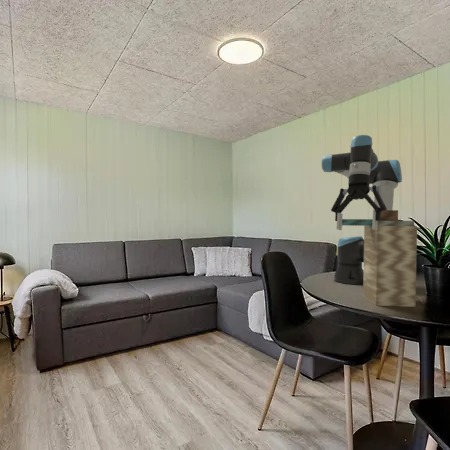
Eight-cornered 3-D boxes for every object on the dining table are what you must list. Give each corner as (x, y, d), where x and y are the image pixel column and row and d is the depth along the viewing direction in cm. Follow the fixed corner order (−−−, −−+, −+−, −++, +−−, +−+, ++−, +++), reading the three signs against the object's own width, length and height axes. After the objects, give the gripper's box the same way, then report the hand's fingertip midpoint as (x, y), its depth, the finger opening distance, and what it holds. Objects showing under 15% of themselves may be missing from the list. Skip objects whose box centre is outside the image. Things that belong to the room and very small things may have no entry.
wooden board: (376, 305, 114) (377, 220, 113) (363, 295, 128) (364, 220, 127) (415, 306, 112) (417, 221, 111) (398, 296, 126) (399, 220, 125)
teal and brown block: (342, 225, 119) (342, 210, 119) (339, 225, 126) (339, 210, 126) (397, 226, 115) (398, 210, 115) (391, 225, 122) (391, 210, 122)
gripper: (324, 177, 124) (321, 228, 121) (390, 168, 105) (387, 228, 103) (333, 181, 129) (330, 230, 126) (398, 173, 110) (395, 231, 108)
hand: (356, 229), depth 115 cm, fingers open, 13 cm apart
